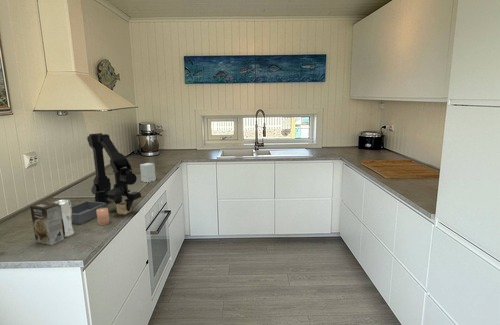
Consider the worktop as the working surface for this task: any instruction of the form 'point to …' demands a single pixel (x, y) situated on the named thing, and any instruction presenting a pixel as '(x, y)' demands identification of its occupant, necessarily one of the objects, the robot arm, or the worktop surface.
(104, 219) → the terracotta cylinder
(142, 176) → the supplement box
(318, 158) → the worktop surface
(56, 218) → the coffee box
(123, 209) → the beech cube
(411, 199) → the worktop surface
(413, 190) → the worktop surface
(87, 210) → the tote
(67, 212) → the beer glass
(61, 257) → the worktop surface
